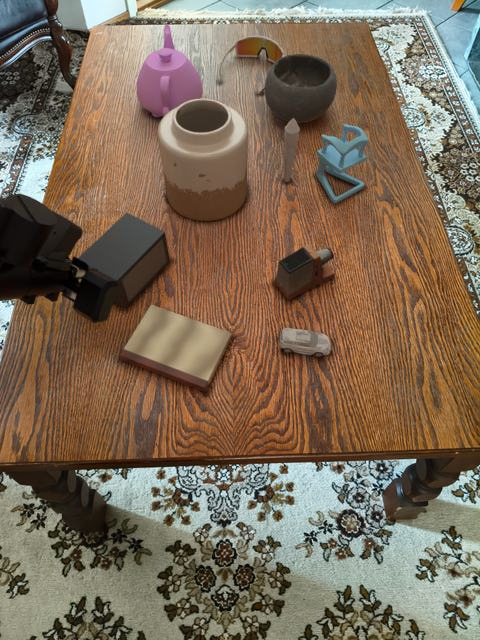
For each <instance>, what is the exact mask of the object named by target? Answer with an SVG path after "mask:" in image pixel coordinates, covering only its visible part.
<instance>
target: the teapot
mask: <svg viewBox="0 0 480 640" xmlns="http://www.w3.org/2000/svg"><path fill="white" fill-rule="evenodd" d="M203 89H204V88H203V83H202V80H201V76H200V74H199V72H198V70H197V69H196V67H195V65H194V64H193V62H192V61H191V60H190V59H189V58H188V56H187V55H186V54H184V53H183V52H182V51H180V50H177V49H176V48H175V45H174V41H173V36H172V30H171V26H170V25H169V24H165V25H164V27H163V48H160V49H158V50H154V51H152V52H151V53H149V54H148V55H147V57H146V58H145V60H144V61H143V63H142V65H141V68H140V70H139V73H138V74H137V79H136V99H137V100H138V102H139V104H140V105H141V106H142V107H144V109H146V110H147V111H149V112H150V113H151V115H152V116H153V117H155V118H160V117H164V116H165V115H166V114H167V113H168V112H170V111H171V110H173V109H174V108H176V107H178V106H179V105H181V104H182V103H184V102H187V101H189V100H193V99H203V98H202V97H203V95H204V94H203V93H204V90H203Z"/></svg>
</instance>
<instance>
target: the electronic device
mask: <svg viewBox="0 0 480 640" xmlns="http://www.w3.org/2000/svg"><path fill="white" fill-rule="evenodd" d="M334 257H335V254H334V253H333V251H332V249H331V247H330V248H329V247H325V248H323V249H319V250H316V249H314V247H313V246H312V245H311V244H309V243H307V244H306V245H305V244H304V245H303V246H302V247H300V248H299V249H297V250H295V251H294V252H292V253H291V254H289V255H288V256H286V257H284V258H282V259H280V260H279V261H278V265H277V270H276V275H275V279H274V285H275V286H276V287H277V288H278V289H279V292H280V293H281V294H282V295H283V297H285V299H286V300H287V301H291V300H292V299H294V298H296V297H298V296H300V295H302V294H303V293H306V292H308V291H310V290H311V289H314V288H316V287H318V286H319V285H321V284H322V283H325V282H327V281H329V280H332V279H333V277H334V276H336V273H335V271H333V270H332V269H331V267H330V266H329V265H328V264H327V263H328V262H330V261H331V260H333V259H334Z"/></svg>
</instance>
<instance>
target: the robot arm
mask: <svg viewBox="0 0 480 640" xmlns="http://www.w3.org/2000/svg"><path fill="white" fill-rule="evenodd" d="M82 237H83V228H82V227H81V226H79V225H78V224H76V223H74V222H73V221H72V220H70V219H68V218H67V217H65V216H63V215H61V214H59V213H57V212H55V211H54V210H52V209H50V208H49V207H48V206H47V205H46V204H44V203H42V202H41V201H39V200H37V199H35V198H33V197H31V196H29V195H26V194H23V193H20V192H19V193H17V194H12V193H11V194H8V195H7V196H6V197H5V198H1V197H0V302H6V301H15V300H19V301H21V302H23V303H24V304H26V305H28V306H31V305H35V303H36V300H37V298H42V297H43V298H44V299H47V300H48V301H50V302H58V301H59V297H60V293H61V296H62V297H64V298H66V299H67V300H69V301H71V302H72V303H73V304H72V309H73V310H74V313H76V314H77V315H79V316H80V317H82V318H84V319H86V320H88V321H89V322H90V323H93V324H99V323H104V322H106V321H108V319H109V316H110V313H111V310H112V307H113V304H114V303H113V301H114V299H115V296H116V293H117V290H118V287H119V286H118V283H117V280H115V279H113V278H111V277H109V276H108V275H106V274H104V273H102V272H99V271H98V269H96V268H95V267H92V266H89V265H88V264H87V263H85V262H84V261H82V260H80V259H78V258H79V257H77V256H72V259H71V258H70V255H71V253H72V252H73V251H74V249H75V247H76V245H77V243H78V242H79V240H81V239H82Z"/></svg>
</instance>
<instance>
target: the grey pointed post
mask: <svg viewBox="0 0 480 640" xmlns="http://www.w3.org/2000/svg"><path fill="white" fill-rule="evenodd" d="M300 131H301V129H300V127H299V123H297V122H296V120H295V119H294V118H293V119H292V120H291V121H290V122H289V121H288V122H287V124H286V126H284V150H283V151H284V152H283V153H284V154H283V180H284V182H285V183H288V182H290V181H291V178H292V177H291V176H292V171H293V166H294V161H295V156H296V149H297V146H298V142H299V137H300V133H299V132H300Z"/></svg>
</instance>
